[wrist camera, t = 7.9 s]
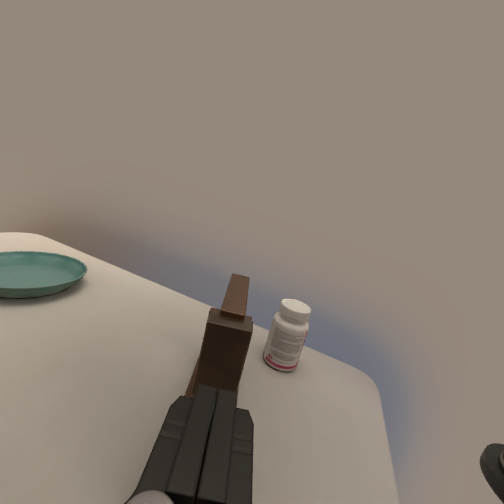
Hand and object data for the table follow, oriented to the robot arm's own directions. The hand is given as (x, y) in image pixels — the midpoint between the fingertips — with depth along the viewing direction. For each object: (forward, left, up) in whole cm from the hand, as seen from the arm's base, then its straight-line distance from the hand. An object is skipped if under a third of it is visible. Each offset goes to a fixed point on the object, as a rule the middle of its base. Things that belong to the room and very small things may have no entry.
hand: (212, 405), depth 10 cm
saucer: (+31, -28, -13) cm, 44 cm away
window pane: (0, -7, -12) cm, 14 cm away
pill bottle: (-8, -23, -13) cm, 28 cm away
